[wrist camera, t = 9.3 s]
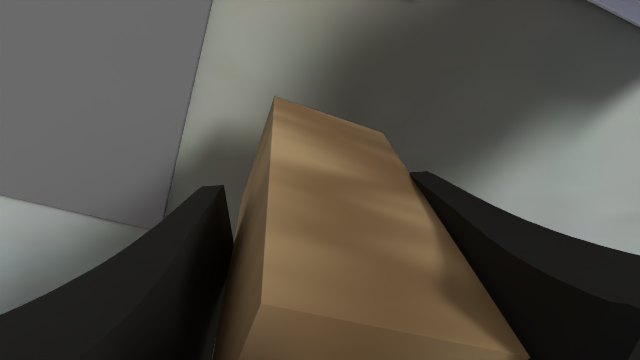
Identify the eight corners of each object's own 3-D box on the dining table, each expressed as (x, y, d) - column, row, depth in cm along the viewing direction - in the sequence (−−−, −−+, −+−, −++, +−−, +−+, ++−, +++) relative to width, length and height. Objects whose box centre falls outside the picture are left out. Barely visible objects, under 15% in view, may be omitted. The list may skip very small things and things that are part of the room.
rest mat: (220, -35, 14) (219, -35, 13) (161, 226, 19) (159, 231, 18) (-114, -173, 11) (-127, -178, 11) (-79, 170, 16) (-88, 174, 16)
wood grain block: (382, 132, 13) (567, 413, 5) (340, 222, 15) (419, 550, 6) (274, 96, 12) (256, 364, 4) (242, 195, 14) (178, 541, 5)
